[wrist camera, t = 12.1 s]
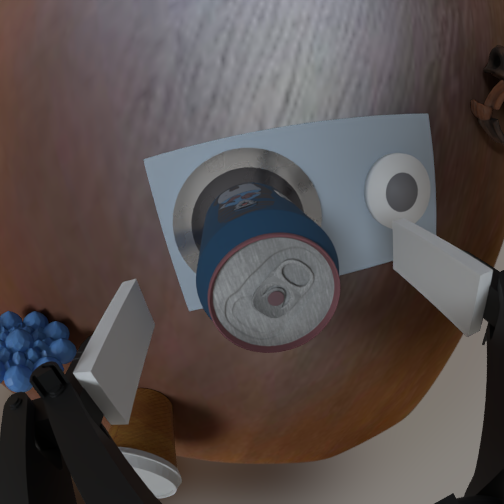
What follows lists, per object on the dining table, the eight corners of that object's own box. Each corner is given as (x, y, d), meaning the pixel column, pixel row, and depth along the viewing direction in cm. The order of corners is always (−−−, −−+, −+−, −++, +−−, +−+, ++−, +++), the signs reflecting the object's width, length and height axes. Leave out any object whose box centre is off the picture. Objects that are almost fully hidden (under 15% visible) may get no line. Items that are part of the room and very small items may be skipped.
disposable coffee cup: (187, 427, 35) (185, 503, 24) (121, 421, 34) (105, 492, 23) (182, 381, 32) (175, 469, 20) (105, 374, 30) (77, 453, 19)
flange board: (420, 113, 24) (434, 113, 22) (429, 244, 29) (441, 251, 27) (146, 158, 23) (139, 160, 21) (190, 304, 28) (188, 317, 26)
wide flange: (305, 135, 23) (309, 135, 22) (325, 269, 27) (329, 274, 26) (158, 167, 22) (155, 168, 21) (196, 299, 27) (195, 305, 26)
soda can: (255, 280, 25) (283, 381, 14) (187, 233, 23) (161, 316, 12) (309, 216, 24) (381, 281, 13) (241, 161, 22) (265, 181, 11)
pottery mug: (515, 125, 25) (545, 152, 20) (461, 130, 29) (487, 159, 24) (505, 41, 18) (541, 53, 12) (445, 42, 22) (475, 51, 17)
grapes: (10, 329, 27) (-37, 389, 16) (5, 283, 25) (-55, 340, 14) (87, 361, 30) (53, 438, 18) (88, 315, 28) (41, 395, 16)
